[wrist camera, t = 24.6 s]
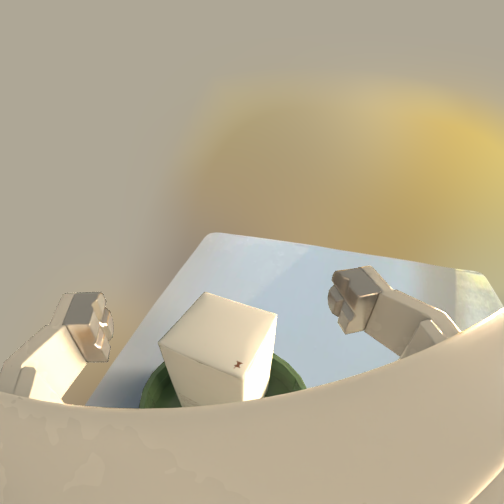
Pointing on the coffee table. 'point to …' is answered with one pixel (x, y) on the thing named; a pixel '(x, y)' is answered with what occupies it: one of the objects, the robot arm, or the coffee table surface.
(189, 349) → the white packaging box
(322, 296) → the coffee table surface
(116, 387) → the coffee table surface
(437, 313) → the robot arm
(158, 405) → the bowl
